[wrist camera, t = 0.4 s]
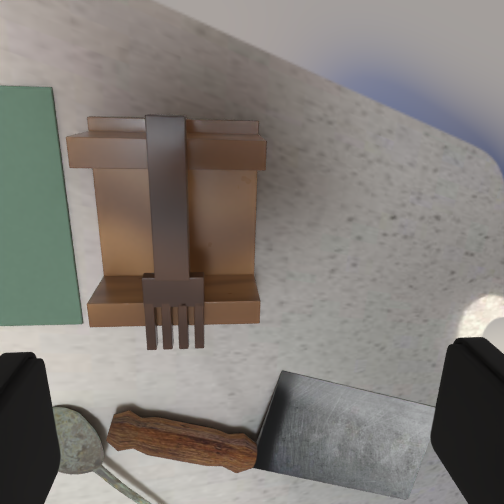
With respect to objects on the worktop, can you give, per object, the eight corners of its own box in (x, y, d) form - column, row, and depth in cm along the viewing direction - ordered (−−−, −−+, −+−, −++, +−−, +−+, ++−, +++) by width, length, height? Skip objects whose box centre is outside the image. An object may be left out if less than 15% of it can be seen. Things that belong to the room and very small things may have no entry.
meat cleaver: (441, 407, 45) (462, 435, 41) (397, 482, 48) (412, 514, 45) (136, 334, 39) (127, 359, 35) (110, 426, 42) (100, 458, 39)
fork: (132, 113, 26) (127, 114, 25) (202, 115, 27) (201, 116, 25) (148, 343, 32) (145, 354, 31) (205, 341, 32) (204, 353, 31)
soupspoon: (71, 388, 41) (24, 420, 42) (57, 412, 37) (6, 447, 39) (209, 512, 47) (166, 537, 48) (207, 541, 44) (161, 567, 45)
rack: (89, 116, 32) (63, 120, 26) (258, 120, 33) (267, 125, 27) (109, 302, 37) (91, 339, 31) (252, 300, 38) (259, 334, 33)
